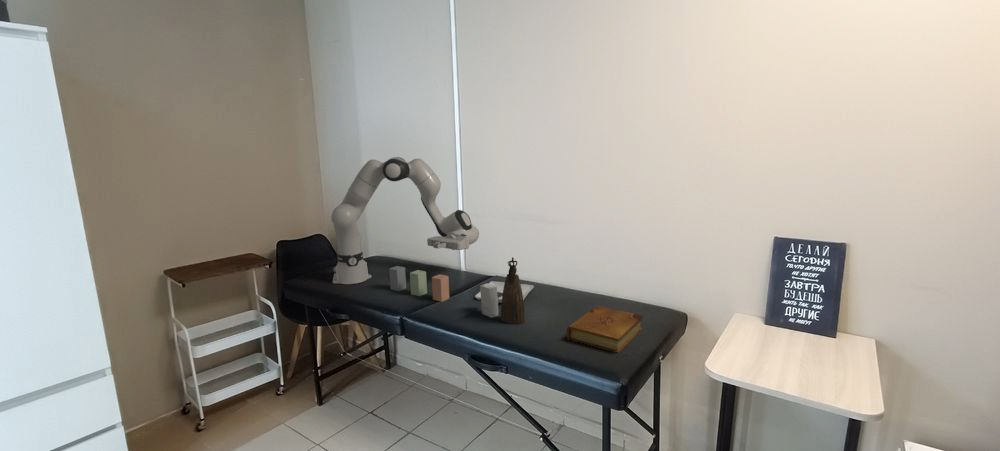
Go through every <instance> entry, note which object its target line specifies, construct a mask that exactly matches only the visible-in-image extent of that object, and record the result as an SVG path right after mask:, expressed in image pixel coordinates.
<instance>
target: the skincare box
mask: <svg viewBox="0 0 1000 451" xmlns="http://www.w3.org/2000/svg"><path fill="white" fill-rule="evenodd" d="M489 283H490V282H489ZM489 283H488V282H487V283H484V284H481V285H480V287H479V289H480V291H481V300H480V301H481V302H480V304H481V306H480V307H481V314H482V315H484V316H486V317H489V318H494V317H498V316H499V303H498V297H499V296H498V292H497V286H494V285H491V284H489ZM480 291H479V292H480Z"/></svg>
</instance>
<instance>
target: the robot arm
mask: <svg viewBox="0 0 1000 451" xmlns="http://www.w3.org/2000/svg"><path fill="white" fill-rule="evenodd" d="M385 179H386V180H389V181H390V182H399V181H402V180H404V179H410V180H411V182H412V183H413V184H414V185H415V187H416V188H417V190H418V191H419V193H420V200H421V204H422V205H423V207H424V209H425V211H426V212H427V214H428V215H429V217H430V219H431V221H432V222H433V224H434V226H435V228H436V231H437V234H438V235H437V236H431V237H428V238H427V240H426V241H427V246H429V247H432V248H433V249H448V250H451V251H463V250H469V249H470V246H471V245H473V244H474V243H476V242H477V241H478V239H479V237H480V232H479V228H477V227H476V226H475V225H474V224H472V221H471V217H470V216H469V214H468V213H467V212H466V211H464V210H462V209H458V210H457V209H456V211H454V212H452V213H451V214H449V215H448V216H446V217H445V216H444V215H443V214H442V212H441V210H440V209H439V207H438V205H437V203H436V199H437V197H438V194H439V192H440V191H441V185H442V183H441V181H440V178H439V176H438V175H437V174H436V173H435V171H434V170H433V169H432V168H431V167H430V166H429V164H427V163H426V162H425V161H424V160H423V159H422V158H413V159H412V160H410V161H406V160H405V159H404V158H403V157H399V156H396V157H391V158H389V159H387V160H386V161H384V162H381V161H380V160H377V159H369V160H368V161H367V162H366V163H365V164H364V165H362V167H361V168H360V169H359V171H358V173H357V174H356V176H355V177H354V178H353V181H352V182H351V184H350V185H349V187H348V189H347V191H346V194H345V196H344V198H343V199H342V201H341V203H340V204H339V205H338V206H336V207H335V208H334V209H333V211H332V212H331V217H330V218H331V221H332V225H333V228H334V232H335V233H334V234H335V236H336V243H337V245H336V246H337V255H336V256H337V263H336V266H334V267H333V272H334V274H333V277H332V284H340V285H341V284H342V285H354V284H359V283H362V282H365V281H367V280H369V279H371V278H372V275H371V274H370V273H368V272H369V271H368V265H367V264H368V262H367V261H366V260H364V252H363V251H362V239H361V238H362V237H361V234H360V232H359V227H358V220H359V219H360V218H361V216H362V214H363V213H364V211H365V209H366V207H367V205H368V204H369V202H370V200H371V198H372V197H373V195H374V193H375V192H376V190H377V189H378V188H379V185H381V182H382V181H383V180H385Z"/></svg>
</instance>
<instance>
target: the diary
mask: <svg viewBox="0 0 1000 451" xmlns="http://www.w3.org/2000/svg"><path fill="white" fill-rule="evenodd" d="M643 319H644V315H641V314H636V313H633V312H627V311H624V310H618V309H614V308H609V307H605V306H604V307H603V306H600V305H596V306H594V307H593V308H592V309H590V311H588V312H587V313H585V314H584V315H582V316H581V317H580V318H578V319H576V320H575V321H574V322H573V323H571V324H570V325H569V326H568V327H567V328H566V339H567V341H570V340H572V341H571V342H574V341H575V342H574V343H577V342H580V343H579V344H581V343H584V344H583V345H585V344H588V345H587V346H589V345H591V346H590V347H592V346H595V347H594V348H596V347H598V349H600V348H602V349H601V350H604V349H605V350H604V351H607V350H610V351H609V352H611V351H613V352H612V353H615V352H617V353H616V354H619V353H620V352H622V351H623V350H624V348H625V347H627V345H629V344H630V342H631V341H632V340H633V339H634V338H635V337H636V336H638V334H639V333H640V332H641V331H642V330H643V327H641V324H642V323H641V320H643Z"/></svg>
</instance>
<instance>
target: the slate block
mask: <svg viewBox="0 0 1000 451" xmlns="http://www.w3.org/2000/svg"><path fill="white" fill-rule="evenodd" d="M388 272H389V273H388V274H389V286H390V290H392V291H395V292H400V291H403V290H406V289H407V280H406V279H407V278H406V276H407V275H406V267H405V266H404V267H403V266H399V265H396V266H393V267H390V268H388Z"/></svg>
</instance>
